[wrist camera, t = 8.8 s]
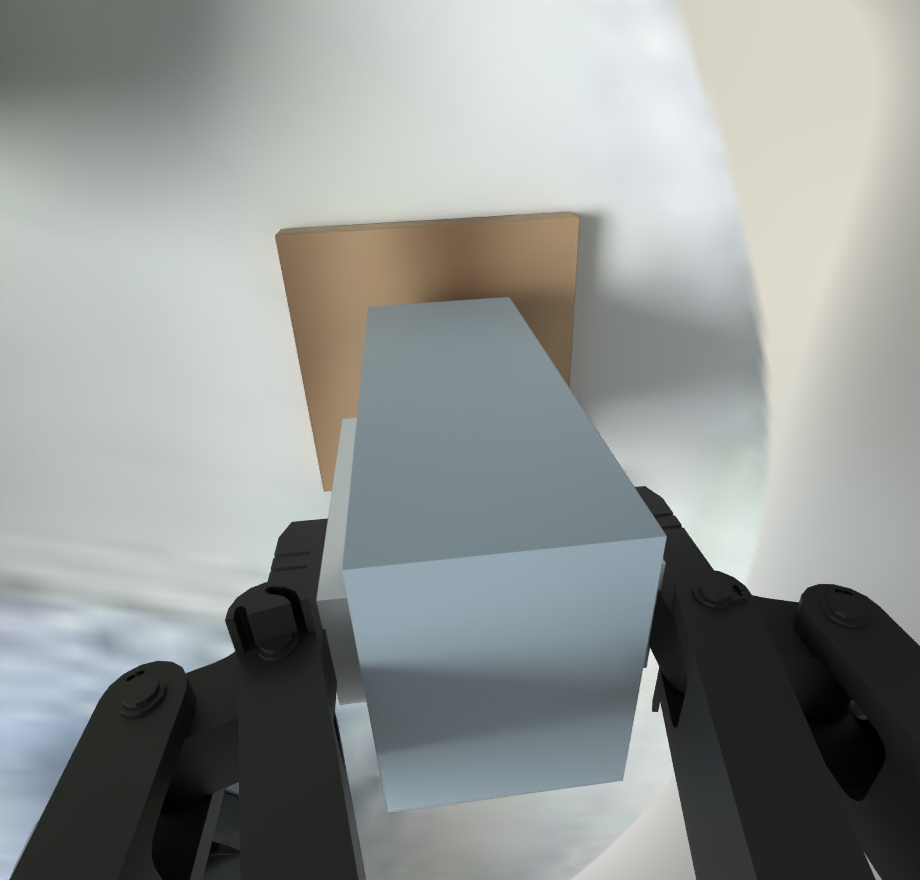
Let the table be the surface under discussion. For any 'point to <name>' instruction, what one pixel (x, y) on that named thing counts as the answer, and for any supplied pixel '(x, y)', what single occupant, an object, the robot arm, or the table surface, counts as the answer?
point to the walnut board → (416, 293)
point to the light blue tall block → (490, 563)
